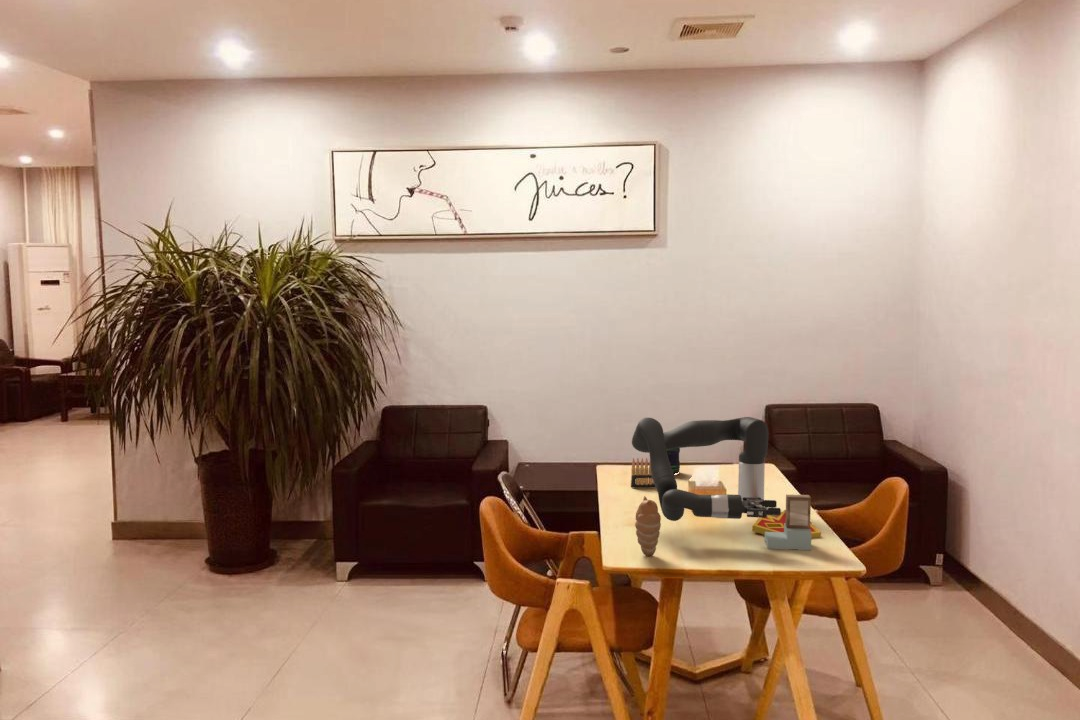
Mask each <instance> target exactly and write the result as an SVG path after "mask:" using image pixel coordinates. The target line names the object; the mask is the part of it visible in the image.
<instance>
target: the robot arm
mask: <svg viewBox="0 0 1080 720" xmlns="http://www.w3.org/2000/svg"><path fill="white" fill-rule="evenodd" d="M636 425H637V426H636V427H635V429H634V430H635V431H634V433H633V435H632V438H631V445H632V447H633V448H634V449H635V450H636V451H638V452H641V453H645V454H646V453H649V461H650V468H651V475H652V478H653V481H654V484H655V489H656V492H657V495H658V500H659V505H660V510H661V513H662V515H663V516H664V517H665V519H667V520H668V521H671V522H676V521H679V520H681V519H682V518H683V516H684V513H685V509H687V510H689V511H690V510H691V512H692V515H694V516H695V517H698V518H715V519H732V520H733V519H734V520H740V519H742V516H743V515H742V514H746V517H748V518H759V517H760V518H767V516H768V515H771V516H777V515H781V513H782V509H781V508H780V507H777V505H778V503H777V500H775V499H765V475H766V474H765V468H766V467H765V466H766V465H765V464H766V462H765V461H766V457H767V455H768V451H769V450H768V447H769V446H768V445H769V428H768V425H767V423H766V422H765V421H764V420H763V419H758V418H755V417H752V416H743V417H738V418H731V419H725V420H720V419H719V420H718V419H711V420H710V419H705V420H703V419H700V420H692V421H687V422H685V423H683V424H680V425H679V426H676V427H675V428H673V429H671V430H668V431H665V432H664V430H663V426H662V424H661V423H660V422H659V420H657V419H655V418H654V417H643V418H642V419H640V420H639V422H638V423H637V424H636ZM724 441H741V442H744V443H745V448H744V450H743V451H741V452H740V453H739V454H738V482H737V483H738V485H737V486H738V487H737V489H738V490H737V494H697V493H694V492H691V491H687V490H683V489H679V488H678V484H677V482H678V481H677V480H676V477H675V476H674V474H673V471H672V469H671V466H670V462H669V459H668V455H667V450H668V449H674V448H680V449H681V448H682V449H683V448H694V447H695V448H699V447H700V448H701V447H708V446H709V447H710V446H714V445H715V444H718V443H720V442H724Z"/></svg>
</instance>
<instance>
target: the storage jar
mask: <svg viewBox="0 0 1080 720" xmlns="http://www.w3.org/2000/svg"><path fill="white" fill-rule="evenodd" d="M680 451H681V448H674V449H668V450H667V455H668V459H669V462H670V466H671V469H672V471H673V474H675V473H678V472H679V473H680V468H681V466H680V464H681V462H680Z"/></svg>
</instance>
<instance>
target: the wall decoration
mask: <svg viewBox="0 0 1080 720" xmlns="http://www.w3.org/2000/svg"><path fill="white" fill-rule="evenodd" d="M785 519H786V509H784V510H782V511H781V515H776V517H775V516H774V515H768V516H767V518H760V517H757V520H755V522H754V523H753V524H752V526H751V527H752V528H751V532H754V533H757V534H759V535H764V536H765V532H784V523H785ZM812 523H813V522H811V521H810V530H811V539H814V538H821V537H820V536H821V535H822V532H821V531H820V530H819V529H818V528H816V526H815V525H813V524H812ZM813 537H814V538H813Z"/></svg>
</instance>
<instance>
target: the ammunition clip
mask: <svg viewBox="0 0 1080 720" xmlns="http://www.w3.org/2000/svg"><path fill="white" fill-rule="evenodd" d="M630 469H631V472H630V473H631V474H630V475H631V476H630V488H631V487H655V484H654V481H653V478H652V475H651V468H650V460H649V462H648V457H645V460H644V458H643V457H641V459H640V460H639V457H638V458H636V461H635V458H632V461H631V468H630ZM655 488H656V487H655Z"/></svg>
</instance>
